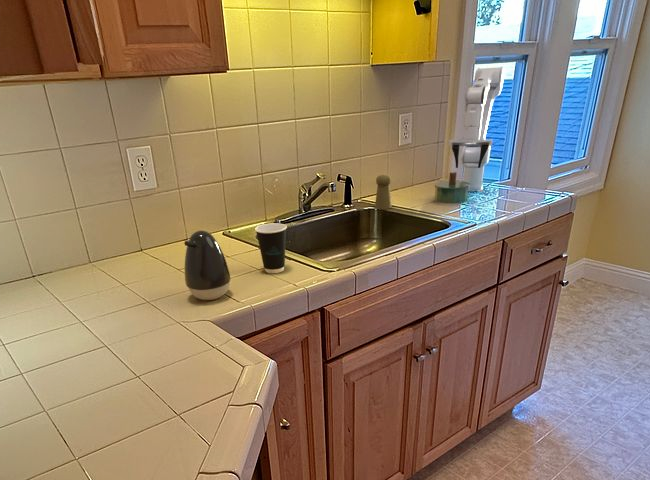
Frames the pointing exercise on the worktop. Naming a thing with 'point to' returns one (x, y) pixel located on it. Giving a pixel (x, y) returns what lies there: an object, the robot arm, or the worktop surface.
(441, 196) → the green pot
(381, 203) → the beige peg figure
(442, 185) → the lid
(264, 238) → the dixie cup
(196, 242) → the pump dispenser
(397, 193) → the worktop surface
